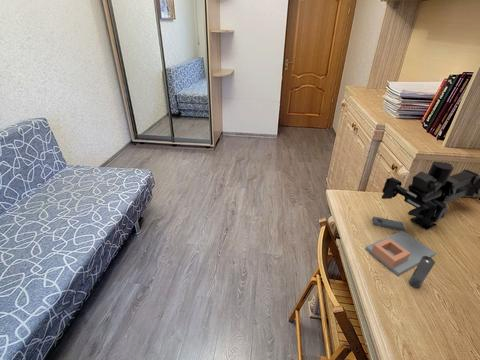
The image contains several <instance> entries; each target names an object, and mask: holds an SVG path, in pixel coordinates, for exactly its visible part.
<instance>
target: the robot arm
mask: <svg viewBox="0 0 480 360" xmlns="http://www.w3.org/2000/svg"><path fill="white" fill-rule="evenodd" d="M453 170H454V167H453V164H451V163H449V162H443V161H437V160H435V161H432V164H431V165H430V167H429V170H428V172H427V173H426V172H424V171H419V172H418V173H417V174H415V175H414V176H412V182H411V184H409V185H408V187H407V189H406V188H405V187H403V186H402V185H403V182H402V181H401V180H399V179H397V178H395V177H389V178H387V179H386V180H385V182H384V186H383V189H382V193H383V194H382V195H381V199H384V200H388V199H393V198H395V197H397V195H398V194H399V195H401V196H402V197H404V200H403V201H404V202H405V203H407V204H409V205H411V206H412V207H414V208H413V209H411V210H409V211H408V212H407V215H409V216H413V217H411V218H410V221H411V222H412V223H414V224H415V225H417V226H419V227H420V228H422V229H424V230H425V231H428V230H430V229H432V228H435V227H436V226H437V224H436V223H437V222H439V221H440V220H441V219H444V217H445V216H446V214H447V212H448V211H449V209H448V203H450V202H453V201H456V200H458V199H460V198H462V197H465V196H466V197H470V198H473V197H477V196H480V174H478V173H477V172H474V171H472V170H469V169H463V170H461V172H458V173H456V174H453V175H451V174H452V172H453Z"/></svg>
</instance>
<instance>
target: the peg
mask: <svg viewBox="0 0 480 360" xmlns="http://www.w3.org/2000/svg"><path fill="white" fill-rule="evenodd" d="M435 264H436V261H435V260H434V258H432V257H431V258H430V257H428V256H423V257H422V259H421V260H420V262H419V264H418V265H417V266H415V269H414V270H413V273H412V274H411V276H410V278H409V280H408V284H409V285H410V286H411V287H412V288H413V289H420V288H421V287H422V285H423V283H424V282H425V280H426V278H427V277H428V275H429V274H430V272H431V270H432V268H433V267H434V266H435Z"/></svg>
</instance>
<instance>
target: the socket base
mask: <svg viewBox="0 0 480 360" xmlns="http://www.w3.org/2000/svg"><path fill="white" fill-rule="evenodd" d="M364 249H365V250H366V251H367V252H368V253H369V254H370V255H372V257H374V258H375V259H376V260H378V262H380V263H382V264H383V265H384V266H385V267H386V268H387V269H389V271H391V272H392V273H393V274H395V276H397V277H399V276H400V275H401V274H404V273H405V272H407V271H409V270H411V269H414V267H415V268H416V267H417V266H418V264H419V262H420V260H421V259H422V257H423V256H428V257H430V258H432V257H433V258H434V256H435V255H437V253H436V251H434V250H433V249H431V248H429V247H428V246H427V245H425V244H423V243H422V242H421V241H419V240H417V238H415V237H413V236H412V235H410V234H409V233H407V232H406V231H405V230H404V231H403V230H402V231H397V232H396V233H393V234H391V235H389V236H387V237H384V238H382V239H380V240H378V241H375V242H373V243H371V244H369V245H366V246H365V248H364Z"/></svg>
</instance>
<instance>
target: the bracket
mask: <svg viewBox="0 0 480 360" xmlns="http://www.w3.org/2000/svg"><path fill="white" fill-rule="evenodd" d="M371 220H372V226H375V227H378V226H379V227H381V228H383V229H389V230H394V231H397V232H400V231H402V230H403V231H404V232H405V229H406V227H405V226H404V223H403V222H402V221H399V220H393V219H388V218H383V217H379V216H372V219H371Z"/></svg>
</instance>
